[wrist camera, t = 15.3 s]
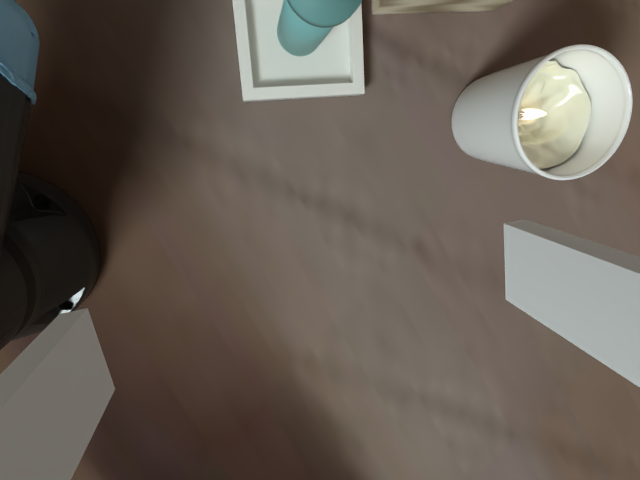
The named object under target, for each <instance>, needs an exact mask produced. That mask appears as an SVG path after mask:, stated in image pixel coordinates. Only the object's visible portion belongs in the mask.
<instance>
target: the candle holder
mask: <svg viewBox="0 0 640 480" xmlns="http://www.w3.org/2000/svg"><path fill="white" fill-rule="evenodd" d="M631 113H632V89H631V84H630V81H629V78H628V75H627V73H626V71H625V69H624V67H623V66H622V64H621V63H620V62H619V61H618V59H617V58H616V57H615V56H613V55H612V54H611V53H609V52H608V51H606V50H604V49H602V48H600V47H597V46H593V45H587V44H578V45H571V46H567V47H564V48H561V49H558V50H556V51H554V52H552V53H550V54H547V55H544V56H541V57H538V58H535V59H532V60H529V61H526V62H523V63H521V64H518V65H515V66H512V67H509V68H506V69H503V70H500V71H497V72H495V73H492V74H489V75H486V76H484V77H481V78H479V79H477V80H475V81H474V82H472V83H471V84H470V85H468V86H467V87H466V88H465V89H464V90H463V91H462V93H461V94H460V96H459V97H458V99H457V101H456V103H455V106H454V109H453V112H452V120H451V124H452V132H453V136H454V138H455V141H456V142H457V144H458V146H459V147H460V148H461V149H462V150H463V151H464V152H465V153H466V154H468V155H469V156H471V157H473V158H475V159H478V160H482V161H485V162H489V163H493V164H497V165H501V166H505V167H509V168H513V169H517V170H521V171H525V172H530V173H534V174H538V175H541V176H543V177H546V178H550V179H554V180H571V179H576V178H580V177H583V176H585V175H587V174H589V173H591V172H593V171H595V170H596V169H598V168H599V167H600V166H602V165H603V164H604V163H605V162H606V161H607V160H608V159H609V158H610V157H611V156H612V155H613V154H614V152H615V151H616V150H617V148H618V147H619V145H620V144H621V142H622V140H623V138H624V136H625V134H626V131H627V129H628V126H629V123H630V119H631Z"/></svg>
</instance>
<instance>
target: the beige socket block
mask: <svg viewBox="0 0 640 480" xmlns="http://www.w3.org/2000/svg"><path fill="white" fill-rule="evenodd" d="M512 1H514V0H372V14H401V13H434V12H466V11H493V10H495V9H497V8H500V7H502V6H504V5H506V4H508V3H510V2H512Z"/></svg>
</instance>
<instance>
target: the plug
mask: <svg viewBox="0 0 640 480" xmlns="http://www.w3.org/2000/svg"><path fill="white" fill-rule="evenodd" d="M361 2H362V0H284V1H283V5H282V9H281V13H280V17H279V21H278V25H277V37H278V40H279V42H280V44H281V46H282V47H283V49H284V50H285V51H287V52H288V53H289V54H291V55H294V56H306V55H309V54H311V53H312V52H313V51H315V49H316V48H317V47H318V46H319V45H320V43H321V42H322V41H323V40H324V38H325V37H326V36H327V35H328V33H329V32H330V31H331V30H332V28H333V27H334V26H337V25H339V24H342V23H343V22H345V21H346V20H347V19H349V18H350V17H351V16H352V14H353V13H354V12H355V11H356V10H357V9H358V7H359V6H360V4H361Z"/></svg>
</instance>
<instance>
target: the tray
mask: <svg viewBox="0 0 640 480" xmlns="http://www.w3.org/2000/svg"><path fill="white" fill-rule="evenodd" d="M232 1H233V10H234V20H235V29H236V38H237V48H238V57H239V66H240V76H241V85H242V94H243V102H252V101H269V100H287V99H304V98H321V97H339V96H356V95H362V94H365V92H364V62H363V33H362V3H361V4H360V6H359V7H358V9H357V10H356V11H355V12H354V13H353V14H352V16H351V17H350V18H349V19H347V20H346V21H345V22H343V23H342V24H339V25H337V26H334V27H333V28H332V30H331V31H330V32H329V33H328V35H327V36H326V37H325V38H324V40H323V41H322V42H321V43H320V45H319V46H318V47H317V48H316V49H315V51H313V52H312V53H311V54H309V55H306V56H294V55H291V54H289V53H288V52H287V51H285V50H284V49H283V47H282V46H281V44H280V42H279V40H278V37H277V25H278V21H279V17H280V13H281V9H282V5H283V1H284V0H232Z"/></svg>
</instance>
